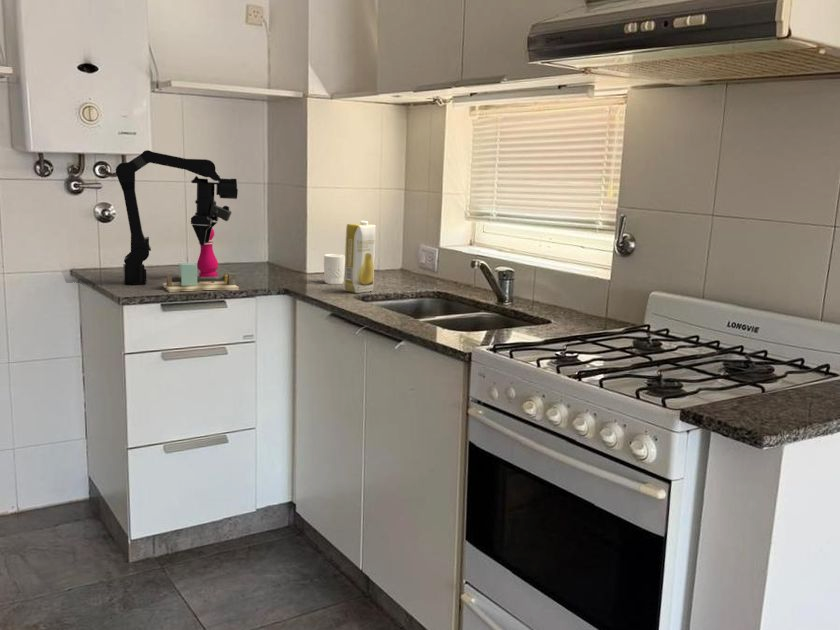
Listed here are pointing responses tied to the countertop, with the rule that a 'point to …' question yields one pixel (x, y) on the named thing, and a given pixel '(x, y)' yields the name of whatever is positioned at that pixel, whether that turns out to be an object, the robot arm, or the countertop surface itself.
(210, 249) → the pepper mill
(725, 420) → the countertop surface
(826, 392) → the countertop surface
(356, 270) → the juice carton
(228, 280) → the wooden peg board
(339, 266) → the white cup
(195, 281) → the sleeve
